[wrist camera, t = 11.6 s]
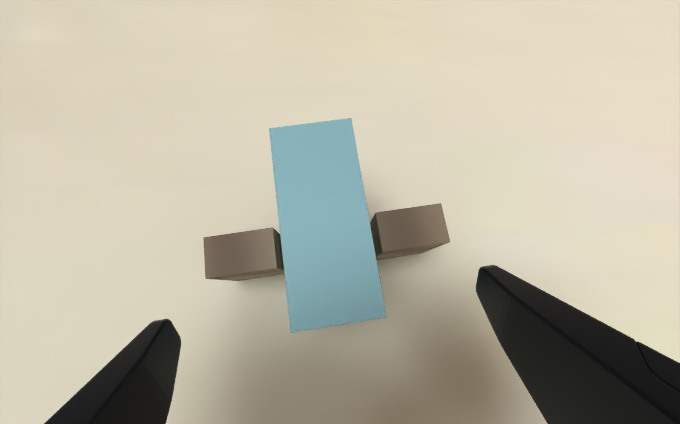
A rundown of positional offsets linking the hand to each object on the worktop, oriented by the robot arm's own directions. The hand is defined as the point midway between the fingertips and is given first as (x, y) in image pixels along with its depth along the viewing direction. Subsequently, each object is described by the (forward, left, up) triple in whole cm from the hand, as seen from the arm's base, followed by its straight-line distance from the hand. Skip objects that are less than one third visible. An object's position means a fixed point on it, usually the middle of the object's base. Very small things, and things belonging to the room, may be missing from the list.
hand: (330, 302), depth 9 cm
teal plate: (+3, +1, -11) cm, 11 cm away
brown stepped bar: (+3, +1, -11) cm, 11 cm away
